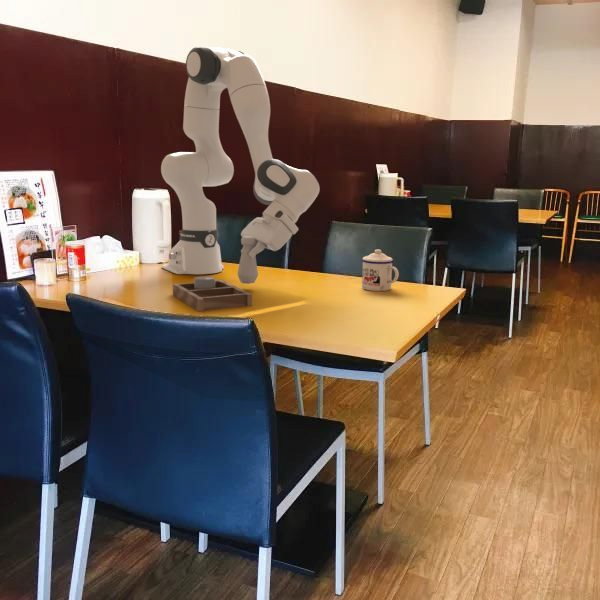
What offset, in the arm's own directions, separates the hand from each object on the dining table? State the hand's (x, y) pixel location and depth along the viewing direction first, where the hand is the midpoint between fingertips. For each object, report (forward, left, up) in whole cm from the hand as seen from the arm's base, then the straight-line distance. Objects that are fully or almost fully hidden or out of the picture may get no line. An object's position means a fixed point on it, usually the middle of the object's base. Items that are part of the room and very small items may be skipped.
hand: (246, 254), depth 175 cm
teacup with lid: (+22, +34, -11) cm, 41 cm away
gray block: (+1, -15, -10) cm, 18 cm away
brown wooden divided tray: (+5, -16, -11) cm, 20 cm away
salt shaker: (0, 0, -8) cm, 8 cm away
